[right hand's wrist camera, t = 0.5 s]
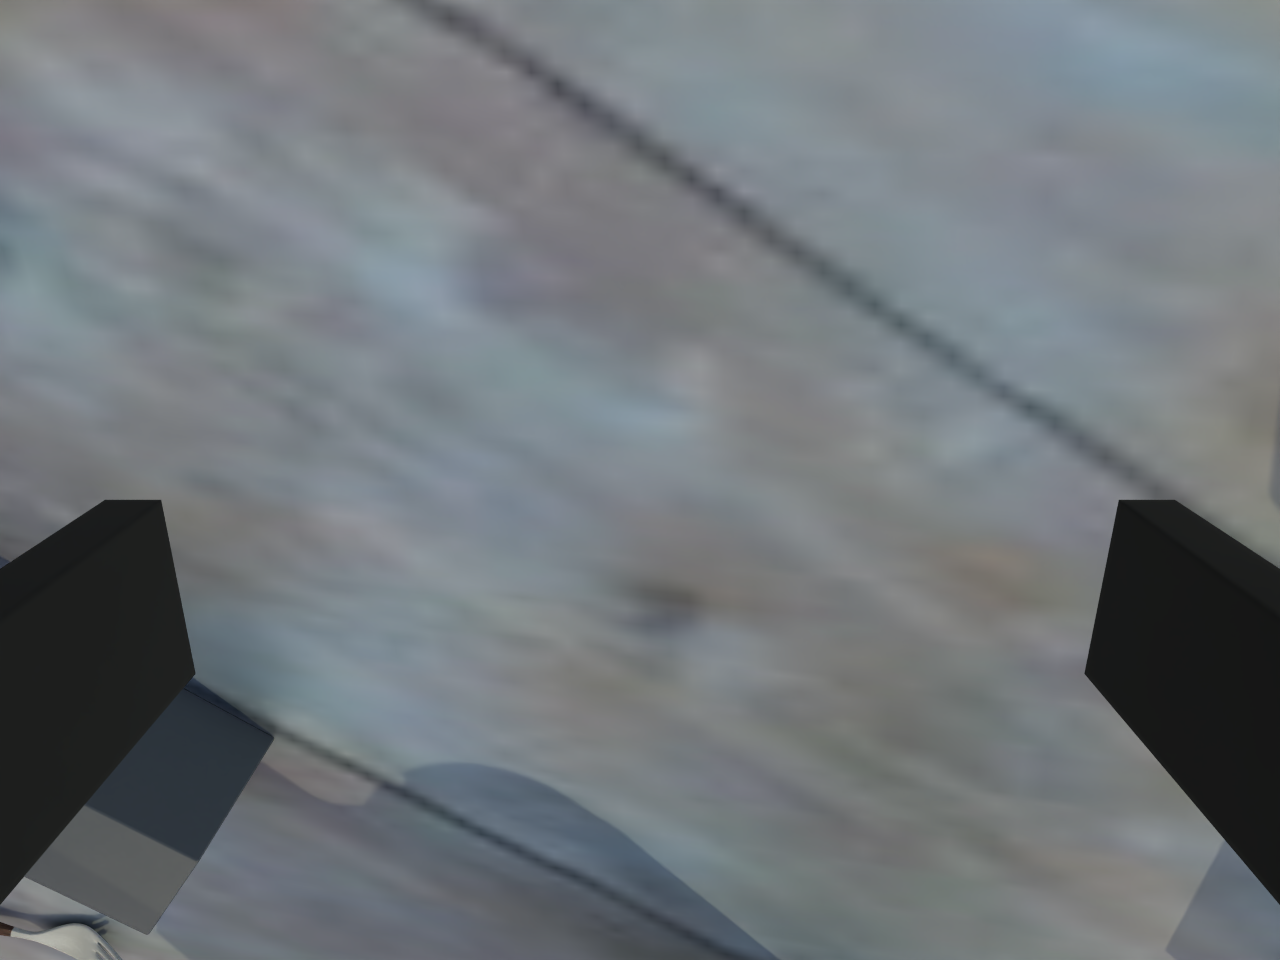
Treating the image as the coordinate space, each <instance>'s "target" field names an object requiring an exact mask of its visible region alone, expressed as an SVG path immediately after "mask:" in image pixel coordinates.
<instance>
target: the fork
mask: <svg viewBox="0 0 1280 960" xmlns="http://www.w3.org/2000/svg"><path fill="white" fill-rule="evenodd" d="M0 935H4V936H11V937H18V938H24V939H28V940H32V941H36V942H39V943H42V944H44V945H47V946H50V947H52V948H54V949H57V950H59V951H61V952H64V953H66V954H68V955H70V956H72V957H74V958H76V959H78V960H103V959H102V958H101V957H100V956H99V955H98V954H97V952H98V953H99V954H100V955H102V956H103V957H104V958H105V959H106V960H113V959H112V958H111V957H110V956H109V955H108V954H107V953H106V952H105V950H104V949H103V948H102V947H101V946H100V945H99V944H98V942H99V943H100V944H101V945H102V946H103V947H105V948H106V949H107V950H108V951H109V953H110V954H111V955H112V956H113V957H114V958H115V959H116V960H122V959H121V958H120V956H119V955H118V954H117V953H116V952H115V950H114V949H113V948H112V947H111V946H110V945H109V944H108V943H107V942H106V941H105V940H104V939H103V938H102V937H101V936H100V935H99V934H98V933H97V932H96V931H95V930H93V929H92V928H90V927H89V926H87V925H84V924H80V923H71V924H65V925H61V926H58V927H55V928H52V929H48V930H44V931H39V932H31V931H26V930H22V929H19V928H16V927H13V926H10V925H7V924H4V923H1V922H0ZM96 951H97V952H96Z"/></svg>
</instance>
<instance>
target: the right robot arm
mask: <svg viewBox="0 0 1280 960" xmlns="http://www.w3.org/2000/svg"><path fill="white" fill-rule="evenodd" d="M194 675H195V669H194V664H193V659H192V654H191V649H190V644H189V639H188V634H187V629H186V624H185V618H184V613H183V608H182V603H181V598H180V593H179V588H178V583H177V578H176V573H175V568H174V563H173V558H172V553H171V548H170V543H169V538H168V533H167V528H166V522H165V517H164V512H163V507H162V502H161V500H104V501H103V502H101V503H100V504H98V505H97V506H95V507H94V508H92V509H91V510H89V511H88V512H86V513H85V514H83V515H82V516H80V517H78V518H77V519H75V520H74V521H72V522H71V523H69V524H68V525H66V526H65V527H63V528H62V529H60V530H59V531H57V532H56V533H54V534H53V535H51V536H50V537H48V538H47V539H45V540H44V541H42V542H40V543H39V544H37V545H36V546H34V547H33V548H31V549H30V550H28V551H27V552H25V553H24V554H22V555H21V556H19V557H18V558H16V559H15V560H13V561H12V562H10V563H9V564H7V565H6V566H4V567H2V568H1V569H0V904H1V903H2V902H3V901H4V900H5V898H6V897H7V896H8V895H9V894H10V892H11V891H12V890H13V889H14V888H15V887H16V885H17V884H18V883H19V882H20V881H21V879H22V878H23V877H24V876H25V875H26V874H27V872H28V871H29V870H30V869H31V868H32V866H33V865H34V864H35V863H36V862H37V861H38V859H39V858H40V857H41V856H42V855H43V853H44V852H45V851H46V850H47V849H48V848H49V846H50V845H51V844H52V843H53V842H54V840H55V839H56V838H57V837H58V836H59V835H60V833H61V832H62V831H63V830H64V829H65V827H66V826H67V825H68V824H69V823H70V821H71V820H72V819H73V818H74V817H75V816H76V814H77V813H78V812H79V811H80V810H81V808H82V807H83V806H84V805H85V804H86V803H87V801H88V800H89V799H90V798H91V797H92V795H93V794H94V793H95V792H96V791H97V790H98V788H99V787H100V786H101V785H102V784H103V782H104V781H105V780H106V779H107V778H108V777H109V775H110V774H111V773H112V772H113V771H114V769H115V768H116V767H117V766H118V765H119V764H120V762H121V761H122V760H123V759H124V758H125V756H126V755H127V754H128V753H129V752H130V751H131V749H132V748H133V747H134V746H135V745H136V743H137V742H138V741H139V740H140V739H141V738H142V736H143V735H144V734H145V733H146V732H147V730H148V729H149V728H150V727H151V726H152V725H153V723H154V722H155V721H156V720H157V719H158V717H159V716H160V715H161V714H162V713H163V712H164V710H165V709H166V708H167V707H168V706H169V704H170V703H171V702H172V701H173V700H174V699H175V697H176V696H177V695H178V694H179V693H180V691H181V690H182V689H183V688H184V687H185V686H186V684H187V683H188V682H189V681H190V680H191V678H192V677H193V676H194ZM1085 675H1086V676H1087V677H1088V678H1089V680H1090V681H1091V682H1092V683H1093V684H1094V686H1095V687H1096V688H1097V689H1098V690H1099V691H1100V693H1101V694H1102V695H1103V696H1104V697H1105V699H1106V700H1107V701H1108V702H1109V703H1110V704H1111V706H1112V707H1113V708H1114V709H1115V710H1116V712H1117V713H1118V714H1119V715H1120V716H1121V717H1122V719H1123V720H1124V721H1125V722H1126V723H1127V725H1128V726H1129V727H1130V728H1131V729H1132V730H1133V732H1134V733H1135V734H1136V735H1137V736H1138V738H1139V739H1140V740H1141V741H1142V742H1143V743H1144V745H1145V746H1146V747H1147V748H1148V749H1149V751H1150V752H1151V753H1152V754H1153V755H1154V756H1155V758H1156V759H1157V760H1158V761H1159V762H1160V764H1161V765H1162V766H1163V767H1164V768H1165V769H1166V771H1167V772H1168V773H1169V774H1170V775H1171V777H1172V778H1173V779H1174V780H1175V781H1176V782H1177V784H1178V785H1179V786H1180V787H1181V788H1182V790H1183V791H1184V792H1185V793H1186V794H1187V795H1188V797H1189V798H1190V799H1191V800H1192V801H1193V803H1194V804H1195V805H1196V806H1197V807H1198V808H1199V810H1200V811H1201V812H1202V813H1203V814H1204V816H1205V817H1206V818H1207V819H1208V820H1209V821H1210V823H1211V824H1212V825H1213V826H1214V827H1215V829H1216V830H1217V831H1218V832H1219V833H1220V835H1221V836H1222V837H1223V838H1224V839H1225V840H1226V842H1227V843H1228V844H1229V845H1230V846H1231V848H1232V849H1233V850H1234V851H1235V852H1236V853H1237V855H1238V856H1239V857H1240V858H1241V859H1242V861H1243V862H1244V863H1245V864H1246V865H1247V866H1248V868H1249V869H1250V870H1251V871H1252V872H1253V874H1254V875H1255V876H1256V877H1257V878H1258V879H1259V881H1260V882H1261V883H1262V884H1263V885H1264V887H1265V888H1266V889H1267V890H1268V891H1269V892H1270V894H1271V895H1272V896H1273V897H1274V898H1275V900H1276V901H1277V902H1278V903H1279V904H1280V569H1279V568H1278V567H1276V566H1274V565H1273V564H1271V563H1270V562H1268V561H1267V560H1265V559H1264V558H1262V557H1261V556H1259V555H1258V554H1256V553H1255V552H1253V551H1252V550H1250V549H1249V548H1247V547H1246V546H1244V545H1243V544H1241V543H1240V542H1238V541H1236V540H1235V539H1233V538H1232V537H1230V536H1229V535H1227V534H1226V533H1224V532H1223V531H1221V530H1220V529H1218V528H1217V527H1215V526H1214V525H1212V524H1211V523H1209V522H1208V521H1206V520H1205V519H1203V518H1202V517H1200V516H1198V515H1197V514H1195V513H1194V512H1192V511H1191V510H1189V509H1188V508H1186V507H1185V506H1183V505H1182V504H1180V503H1179V502H1177V501H1176V500H1119V502H1118V507H1117V512H1116V517H1115V522H1114V528H1113V533H1112V538H1111V543H1110V548H1109V553H1108V558H1107V563H1106V568H1105V573H1104V578H1103V583H1102V588H1101V593H1100V598H1099V603H1098V608H1097V613H1096V618H1095V624H1094V629H1093V634H1092V639H1091V644H1090V649H1089V654H1088V659H1087V664H1086V669H1085Z"/></svg>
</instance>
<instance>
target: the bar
mask: <svg viewBox="0 0 1280 960" xmlns="http://www.w3.org/2000/svg"><path fill="white" fill-rule="evenodd" d="M273 740H274V738H273V737H272V736H270V735H268V734H266V733H264V732H262V731H261V730H259V729H257V728H255V727H253V726H251V725H250V724H248V723H246V722H244V721H242V720H240V719H238V718H237V717H235V716H233V715H231V714H229V713H227V712H225V711H224V710H222V709H220V708H218V707H216V706H214V705H213V704H211V703H209V702H207V701H205V700H203V699H201V698H200V697H198V696H196V695H194V694H192V693H190V692H188V691H187V690H185V689H182V690H181V691H180V693H179V694H178V695H177V696H176V697H175V699H174V700H173V701H172V702H171V703H170V704H169V706H168V707H167V708H166V709H165V710H164V712H163V713H162V714H161V715H160V716H159V717H158V719H157V720H156V721H155V722H154V723H153V725H152V726H151V727H150V728H149V729H148V730H147V732H146V733H145V734H144V735H143V736H142V738H141V739H140V740H139V741H138V742H137V743H136V745H135V746H134V747H133V748H132V749H131V751H130V752H129V753H128V754H127V755H126V756H125V758H124V759H123V760H122V761H121V762H120V764H119V765H118V766H117V767H116V768H115V769H114V771H113V772H112V773H111V774H110V775H109V777H108V778H107V779H106V780H105V781H104V782H103V784H102V785H101V786H100V787H99V788H98V790H97V791H96V792H95V793H94V794H93V795H92V797H91V798H90V799H89V800H88V801H87V803H86V804H85V805H84V806H83V807H82V808H81V810H80V811H79V812H78V813H77V814H76V816H75V817H74V818H73V819H72V820H71V821H70V823H69V824H68V825H67V826H66V827H65V829H64V830H63V831H62V832H61V833H60V835H59V836H58V837H57V838H56V839H55V840H54V842H53V843H52V844H51V845H50V846H49V848H48V849H47V850H46V851H45V852H44V853H43V855H42V856H41V857H40V858H39V859H38V861H37V862H36V863H35V864H34V865H33V866H32V868H31V869H30V870H29V871H28V872H27V874H26V875H25V876H24V877H26V878H29V879H31V880H33V881H35V882H37V883H39V884H41V885H43V886H45V887H47V888H50V889H52V890H54V891H56V892H58V893H60V894H62V895H64V896H66V897H68V898H71V899H73V900H75V901H77V902H79V903H81V904H83V905H85V906H87V907H89V908H91V909H94V910H96V911H98V912H100V913H102V914H104V915H106V916H108V917H110V918H112V919H115V920H117V921H119V922H121V923H123V924H125V925H127V926H129V927H131V928H133V929H136V930H138V931H140V932H142V933H144V934H146V935H148V934H149V933H150V932H151V931H152V929H153V928H154V926H155V925H156V923H157V922H158V920H159V919H160V917H161V916H162V914H163V913H164V912H165V910H166V909H167V907H168V906H169V904H170V903H171V901H172V900H173V898H174V897H175V895H176V894H177V892H178V891H179V890H180V888H181V887H182V885H183V884H184V882H185V881H186V879H187V878H188V876H189V875H190V873H191V872H192V871H193V869H194V868H195V866H196V865H197V863H198V862H199V860H200V859H201V857H202V855H203V854H204V852H205V850H206V849H207V847H208V846H209V844H210V842H211V841H212V839H213V837H214V836H215V834H216V833H217V831H218V829H219V828H220V826H221V824H222V823H223V821H224V820H225V818H226V816H227V815H228V813H229V812H230V810H231V808H232V807H233V805H234V803H235V802H236V800H237V799H238V797H239V795H240V794H241V792H242V790H243V789H244V787H245V786H246V784H247V782H248V781H249V779H250V777H251V776H252V774H253V773H254V771H255V769H256V768H257V766H258V764H259V763H260V761H261V760H262V758H263V756H264V755H265V753H266V751H267V750H268V748H269V747H270V745H271V743H272V742H273Z"/></svg>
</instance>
